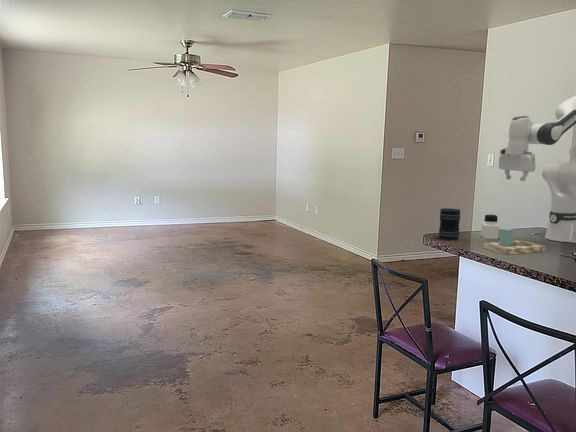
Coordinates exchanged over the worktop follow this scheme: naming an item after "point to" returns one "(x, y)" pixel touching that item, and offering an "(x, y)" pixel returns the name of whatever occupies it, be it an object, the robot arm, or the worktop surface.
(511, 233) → the post
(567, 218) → the robot arm
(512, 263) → the worktop surface
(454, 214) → the storage jar
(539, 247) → the keyhole board
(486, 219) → the medicine bottle
